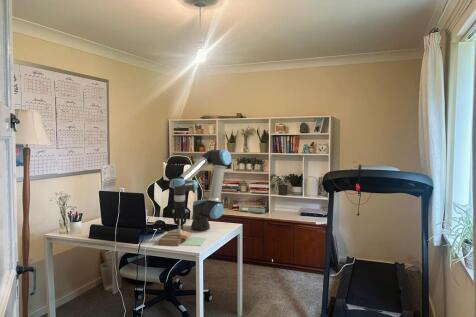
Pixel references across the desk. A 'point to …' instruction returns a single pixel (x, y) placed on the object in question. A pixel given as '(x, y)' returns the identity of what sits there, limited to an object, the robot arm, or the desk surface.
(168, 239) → the deck
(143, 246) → the desk surface
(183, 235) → the card
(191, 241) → the mat
